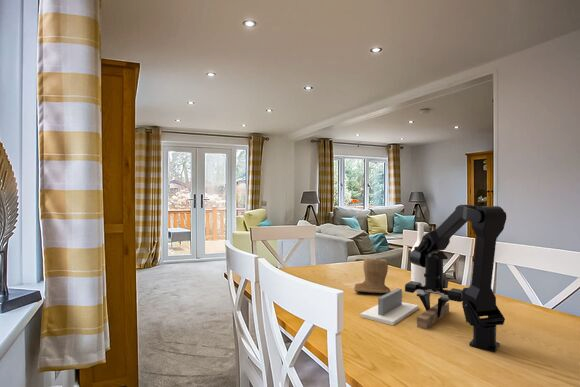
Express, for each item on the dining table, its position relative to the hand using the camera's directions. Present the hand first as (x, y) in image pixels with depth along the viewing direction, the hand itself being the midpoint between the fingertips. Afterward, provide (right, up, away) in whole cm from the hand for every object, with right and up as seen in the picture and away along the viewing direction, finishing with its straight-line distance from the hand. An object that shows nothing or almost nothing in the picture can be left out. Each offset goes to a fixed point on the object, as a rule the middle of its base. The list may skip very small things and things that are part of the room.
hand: (434, 315), depth 120 cm
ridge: (-13, -1, +6) cm, 15 cm away
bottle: (+9, -1, +36) cm, 37 cm away
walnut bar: (0, -1, 0) cm, 1 cm away
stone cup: (-14, -1, +33) cm, 36 cm away
